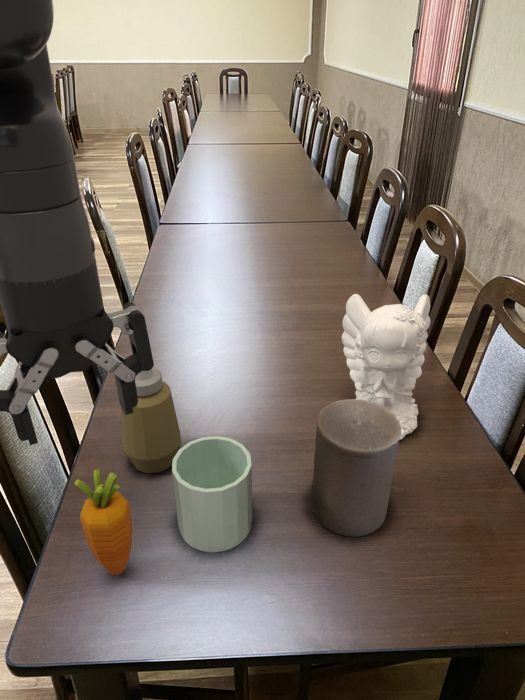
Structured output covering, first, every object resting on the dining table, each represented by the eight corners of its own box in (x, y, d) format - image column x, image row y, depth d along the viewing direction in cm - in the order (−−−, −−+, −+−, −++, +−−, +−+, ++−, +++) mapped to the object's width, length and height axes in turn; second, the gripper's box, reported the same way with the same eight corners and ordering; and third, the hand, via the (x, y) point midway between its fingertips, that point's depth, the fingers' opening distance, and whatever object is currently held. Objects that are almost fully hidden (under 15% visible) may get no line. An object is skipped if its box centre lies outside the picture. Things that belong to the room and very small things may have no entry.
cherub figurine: (331, 436, 81) (341, 318, 70) (336, 388, 91) (346, 280, 81) (421, 447, 79) (445, 327, 68) (415, 397, 89) (436, 286, 79)
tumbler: (196, 564, 61) (190, 503, 56) (168, 511, 68) (160, 451, 63) (264, 533, 65) (265, 473, 60) (232, 485, 72) (229, 427, 67)
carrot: (86, 584, 59) (59, 486, 51) (112, 549, 63) (92, 453, 55) (124, 599, 58) (103, 501, 50) (149, 562, 62) (133, 466, 54)
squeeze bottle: (179, 480, 73) (168, 369, 63) (119, 480, 73) (99, 369, 63) (186, 440, 80) (176, 335, 70) (131, 440, 80) (114, 335, 70)
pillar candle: (298, 519, 67) (303, 426, 59) (327, 470, 74) (335, 381, 67) (374, 549, 63) (390, 453, 55) (396, 494, 71) (413, 403, 63)
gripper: (121, 228, 47) (142, 382, 55) (-64, 258, 41) (-8, 425, 49) (149, 257, 41) (168, 422, 50) (-60, 296, 35) (3, 477, 44)
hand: (81, 424), depth 49 cm, fingers open, 8 cm apart
